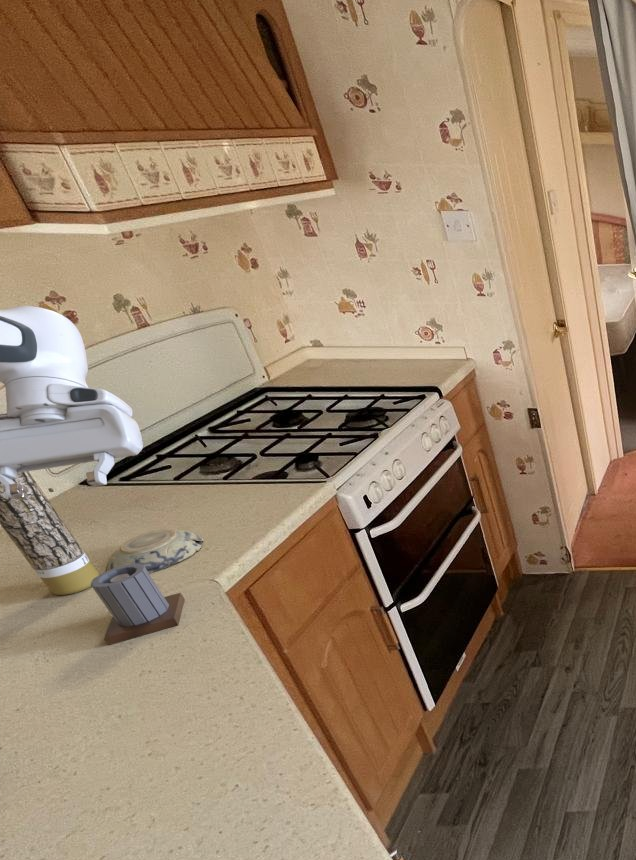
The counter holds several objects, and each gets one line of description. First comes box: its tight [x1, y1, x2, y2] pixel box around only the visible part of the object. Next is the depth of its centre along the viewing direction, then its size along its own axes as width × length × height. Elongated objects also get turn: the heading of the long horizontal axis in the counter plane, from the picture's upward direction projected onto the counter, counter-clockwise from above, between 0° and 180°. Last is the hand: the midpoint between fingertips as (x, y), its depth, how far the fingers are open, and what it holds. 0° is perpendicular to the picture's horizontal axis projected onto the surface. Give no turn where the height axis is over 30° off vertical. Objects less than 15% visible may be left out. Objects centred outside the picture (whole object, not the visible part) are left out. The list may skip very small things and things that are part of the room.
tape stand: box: [103, 574, 186, 646], centre depth 112 cm, size 9×9×9 cm
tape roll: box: [91, 564, 169, 626], centre depth 112 cm, size 7×7×8 cm
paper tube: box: [0, 471, 100, 596], centre depth 118 cm, size 7×7×25 cm
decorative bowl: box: [105, 528, 204, 574], centre depth 132 cm, size 15×4×15 cm
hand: (57, 490), depth 101 cm, fingers open, 8 cm apart
